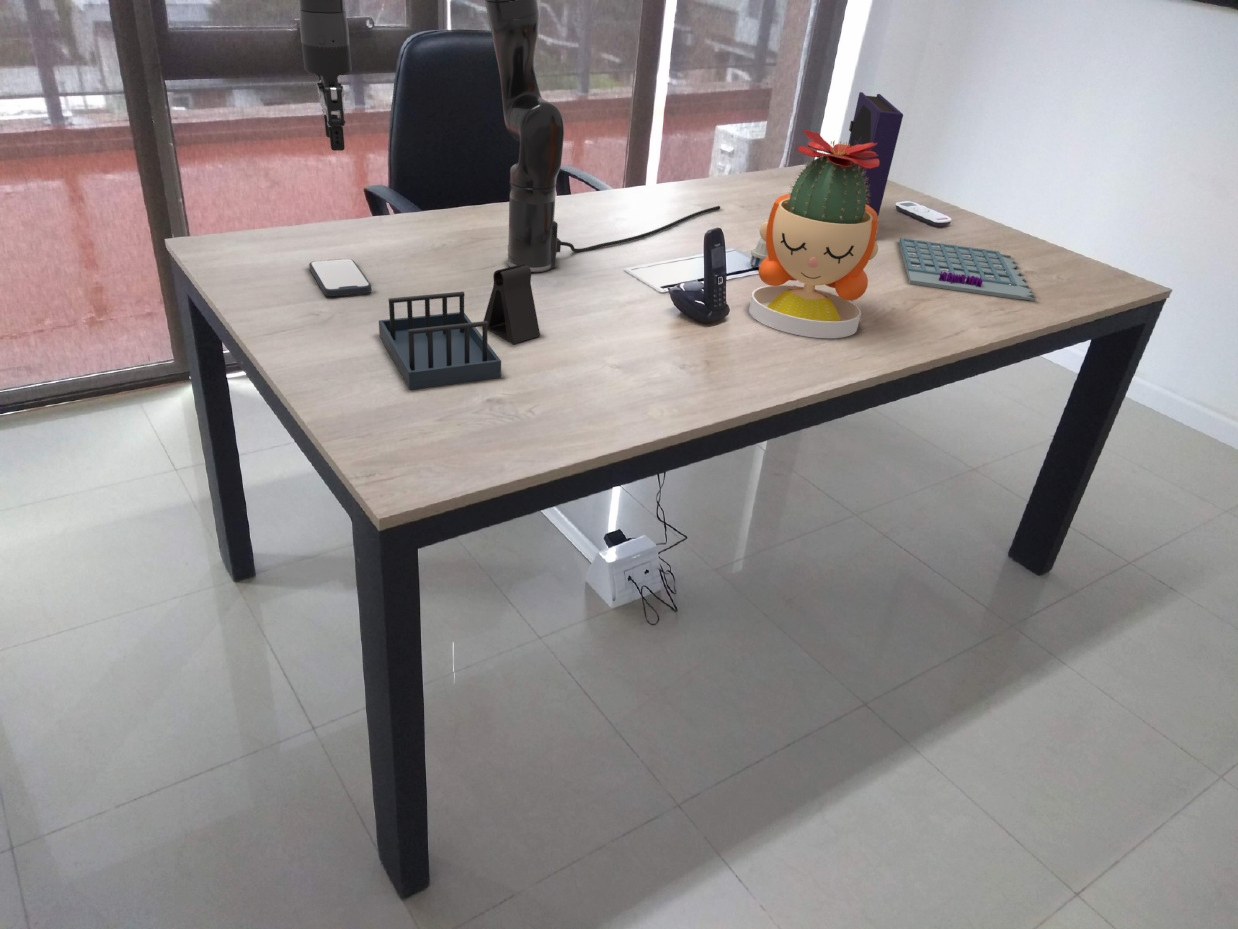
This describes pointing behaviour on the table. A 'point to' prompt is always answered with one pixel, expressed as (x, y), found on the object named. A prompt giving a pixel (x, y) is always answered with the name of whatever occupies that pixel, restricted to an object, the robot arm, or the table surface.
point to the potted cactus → (819, 244)
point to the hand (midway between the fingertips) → (335, 143)
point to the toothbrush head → (759, 253)
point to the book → (876, 141)
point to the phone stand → (512, 305)
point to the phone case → (339, 277)
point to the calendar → (963, 269)
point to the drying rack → (438, 345)
